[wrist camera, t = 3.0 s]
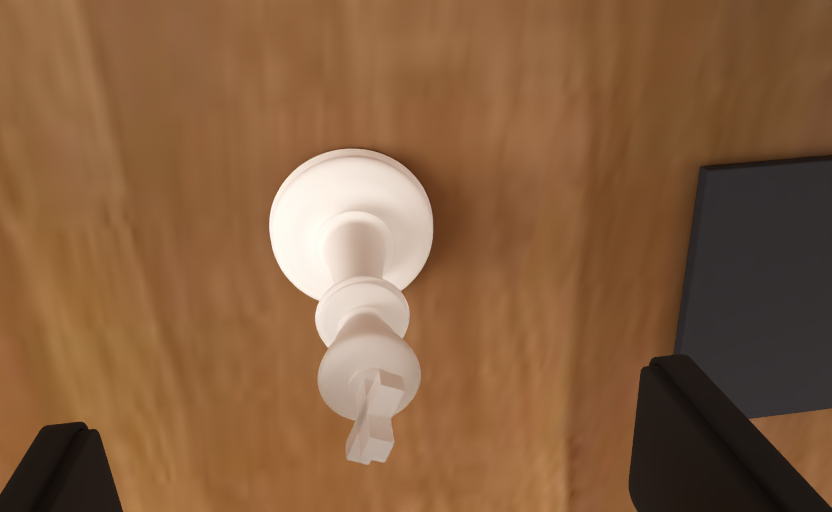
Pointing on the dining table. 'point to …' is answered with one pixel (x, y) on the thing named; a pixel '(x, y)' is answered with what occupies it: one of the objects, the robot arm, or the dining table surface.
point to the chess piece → (357, 281)
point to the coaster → (762, 284)
